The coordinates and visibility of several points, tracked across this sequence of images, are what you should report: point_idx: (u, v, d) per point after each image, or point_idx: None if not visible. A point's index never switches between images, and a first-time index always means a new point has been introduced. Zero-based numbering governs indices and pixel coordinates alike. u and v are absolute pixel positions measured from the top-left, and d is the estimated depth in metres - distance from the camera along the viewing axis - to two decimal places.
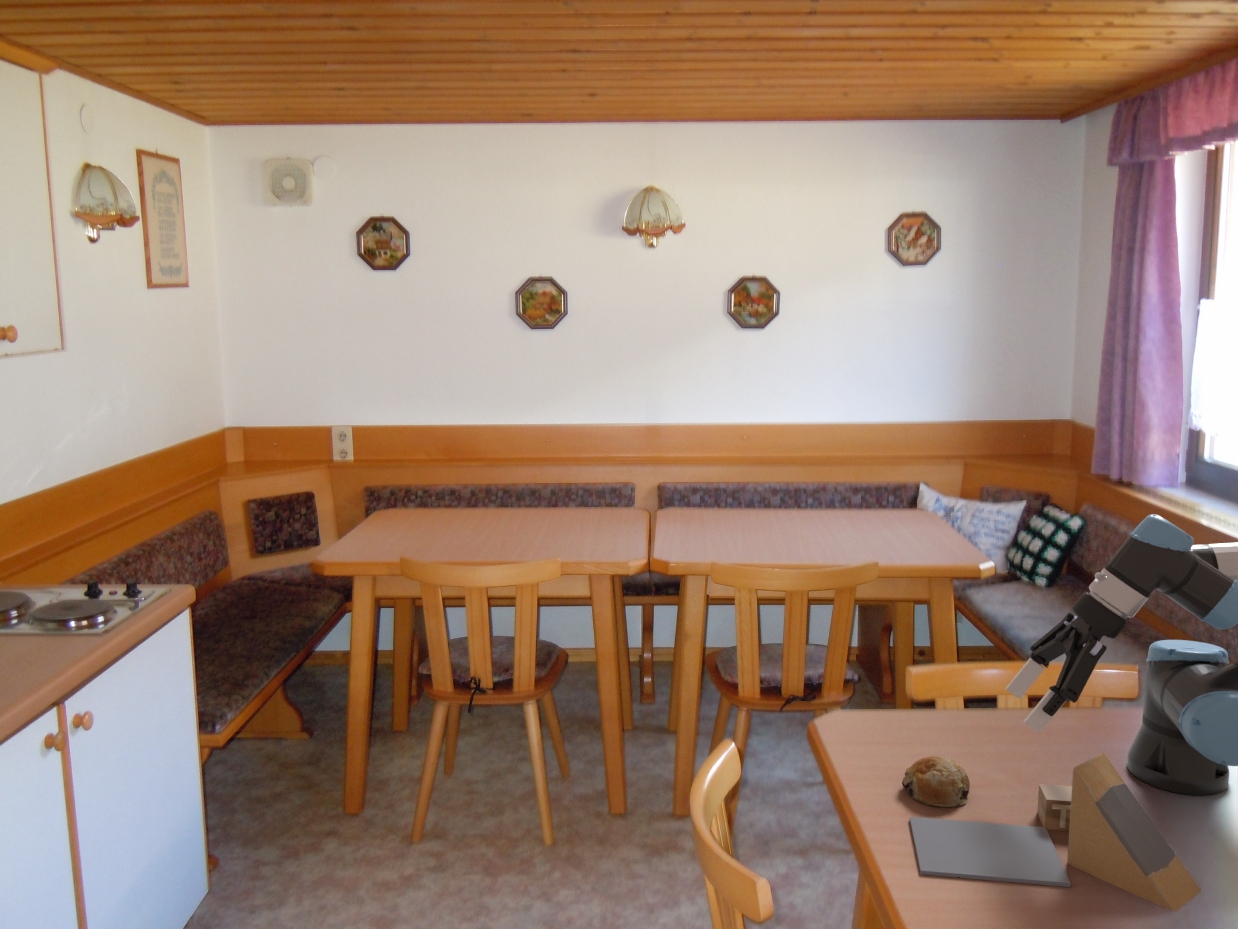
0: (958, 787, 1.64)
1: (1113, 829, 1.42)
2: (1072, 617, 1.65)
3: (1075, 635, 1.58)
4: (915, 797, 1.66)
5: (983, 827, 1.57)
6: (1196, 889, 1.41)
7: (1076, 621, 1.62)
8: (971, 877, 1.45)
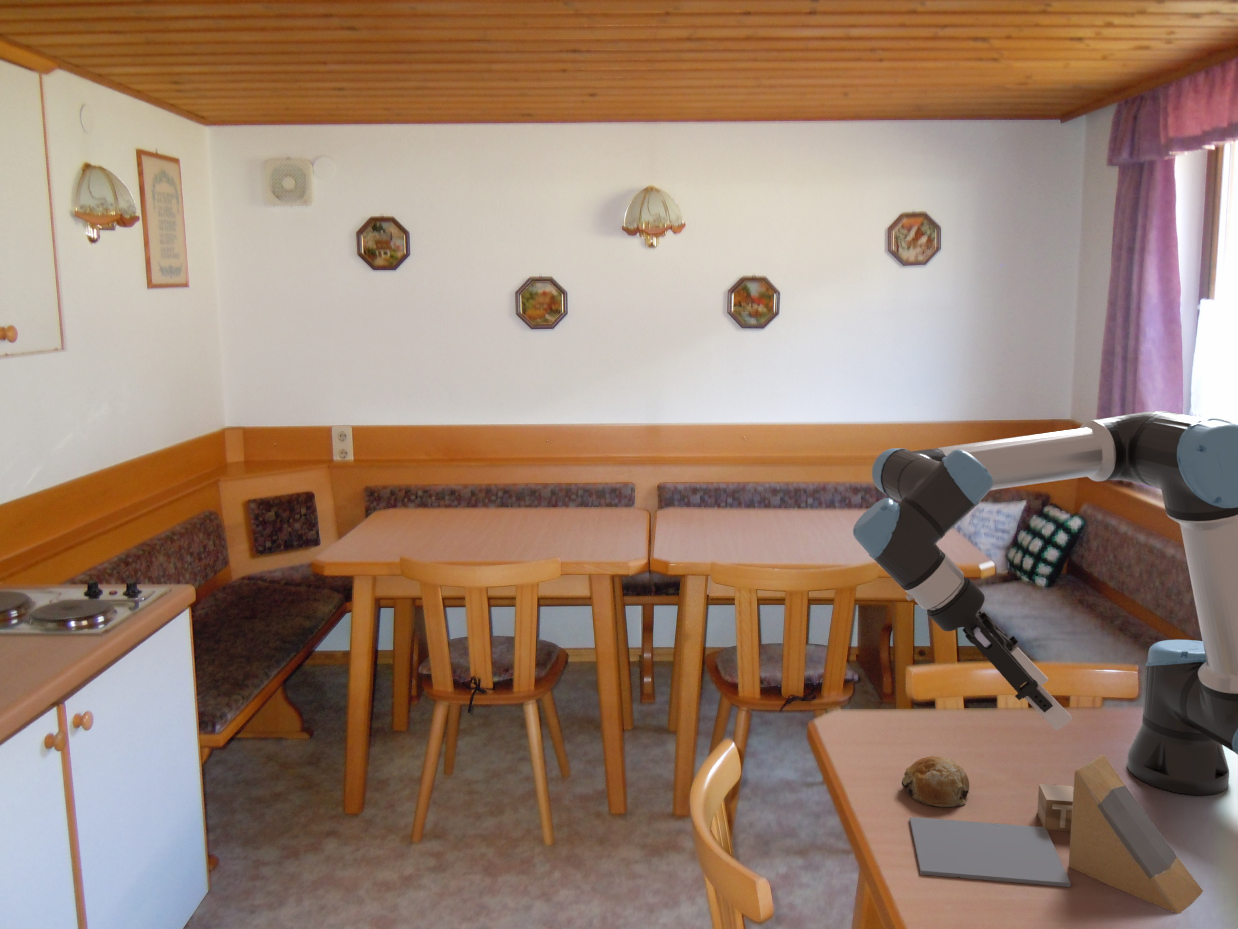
0: (958, 787, 1.64)
1: (1116, 832, 1.42)
2: None
3: (970, 639, 1.41)
4: (915, 797, 1.66)
5: (983, 827, 1.57)
6: (1198, 890, 1.41)
7: None
8: (971, 877, 1.45)
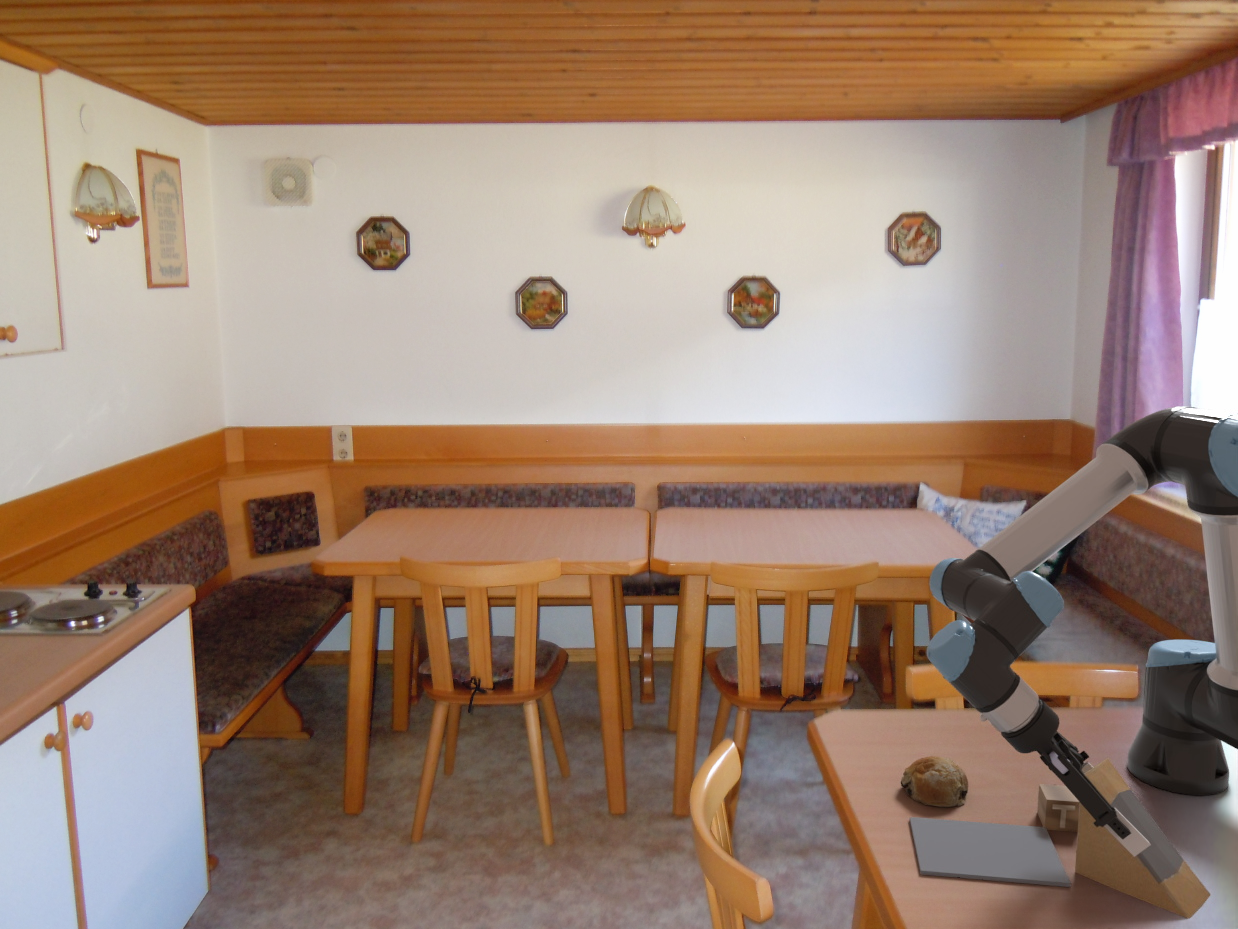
0: (957, 787, 1.64)
1: None
2: None
3: (1045, 762, 1.42)
4: (914, 797, 1.66)
5: (983, 827, 1.57)
6: (1206, 894, 1.40)
7: None
8: (971, 877, 1.45)
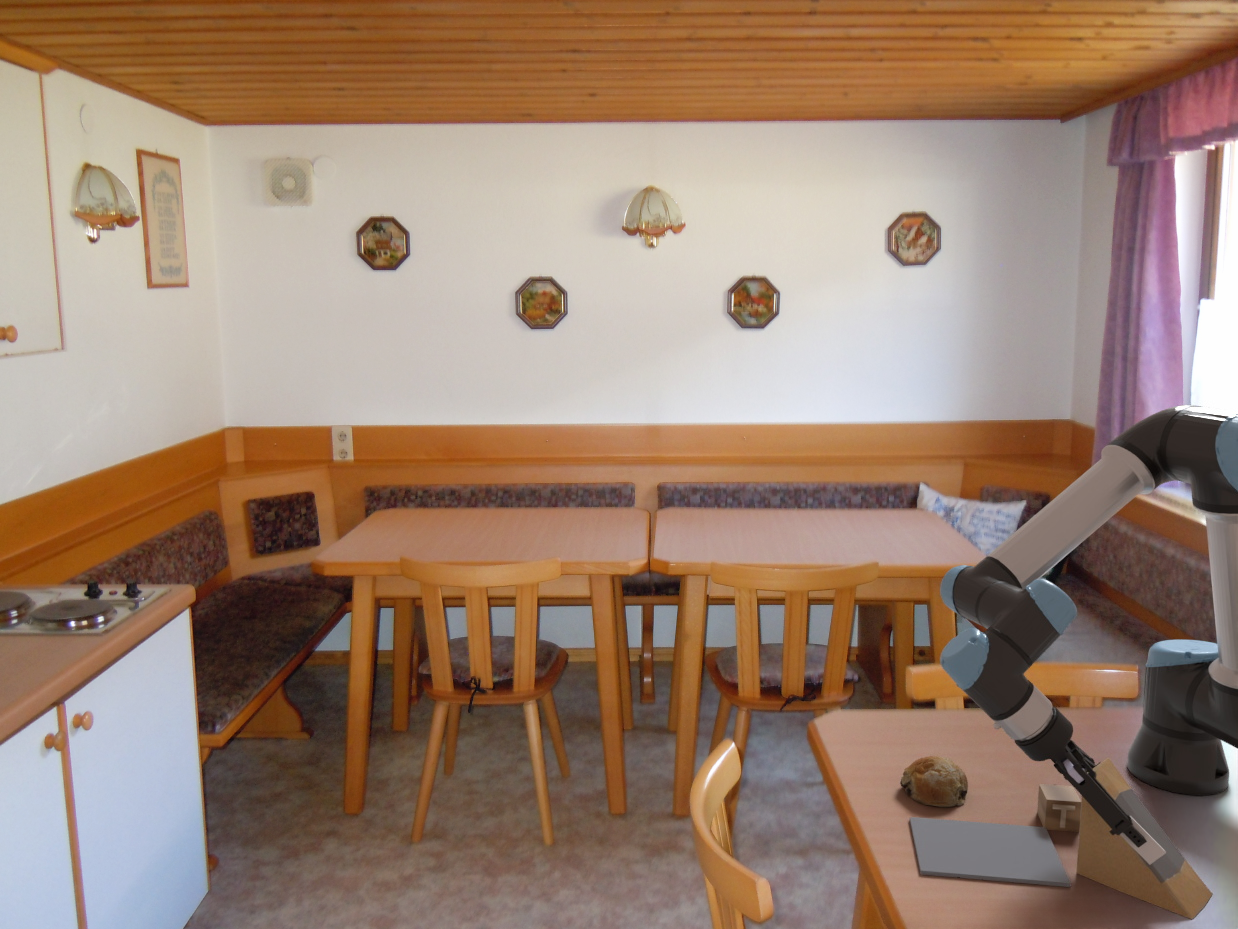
0: (956, 787, 1.64)
1: None
2: None
3: (1059, 770, 1.42)
4: (913, 797, 1.66)
5: (983, 827, 1.57)
6: (1207, 893, 1.40)
7: None
8: (971, 877, 1.45)
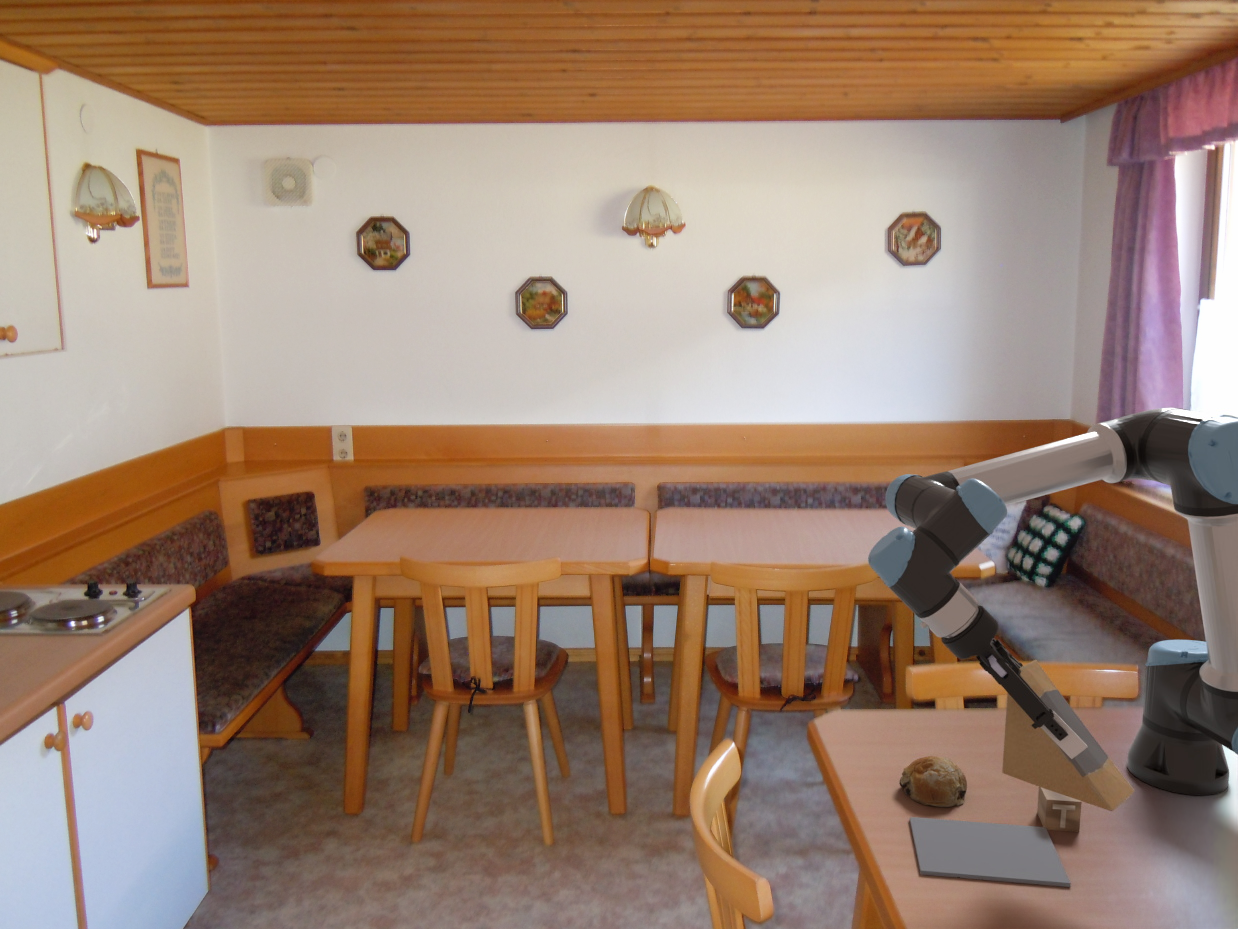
0: (955, 787, 1.64)
1: None
2: None
3: (985, 667, 1.43)
4: (912, 797, 1.66)
5: (983, 827, 1.57)
6: (1129, 789, 1.40)
7: None
8: (971, 877, 1.45)
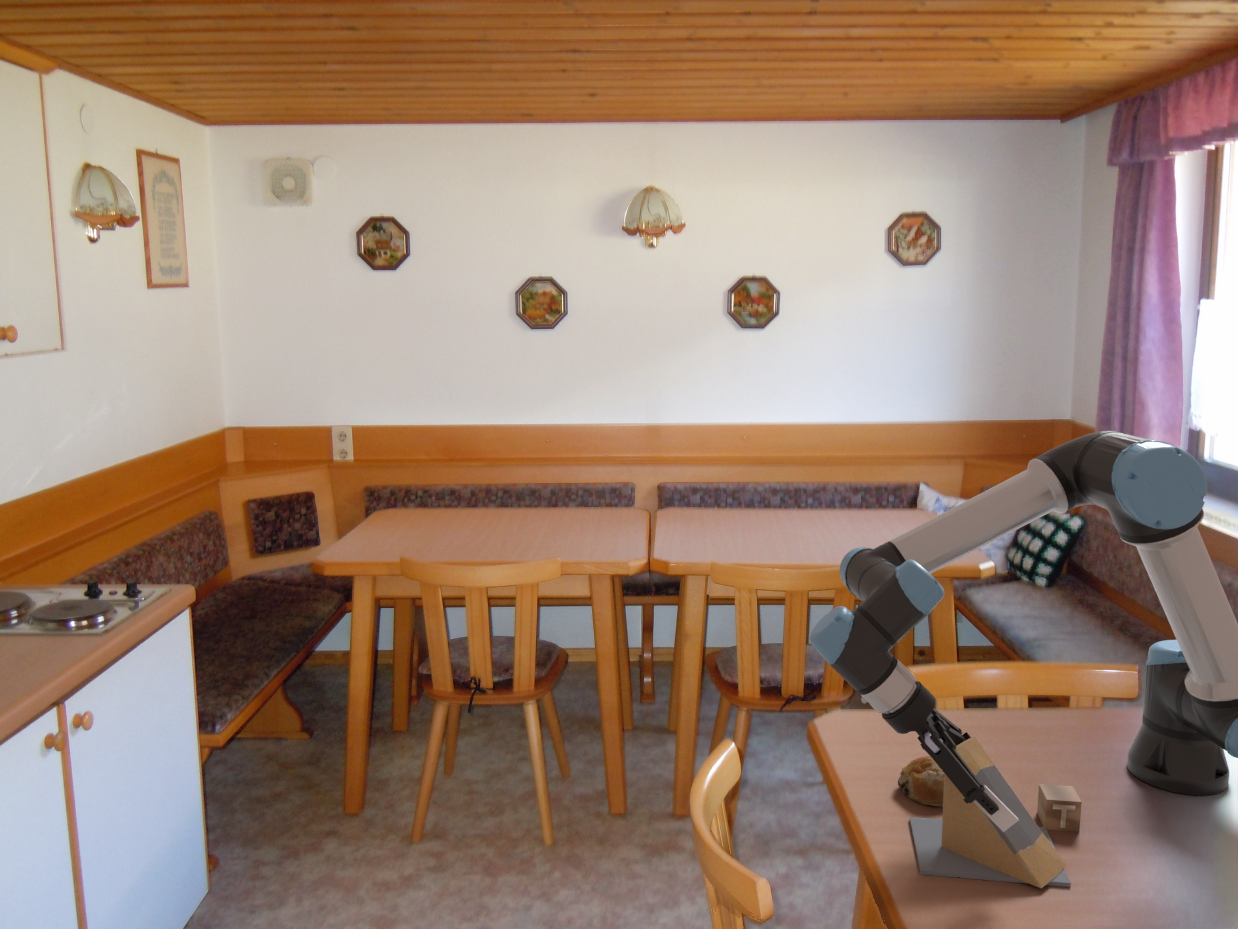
0: None
1: None
2: None
3: (922, 742, 1.48)
4: (911, 797, 1.67)
5: None
6: (1061, 864, 1.46)
7: None
8: (971, 877, 1.45)
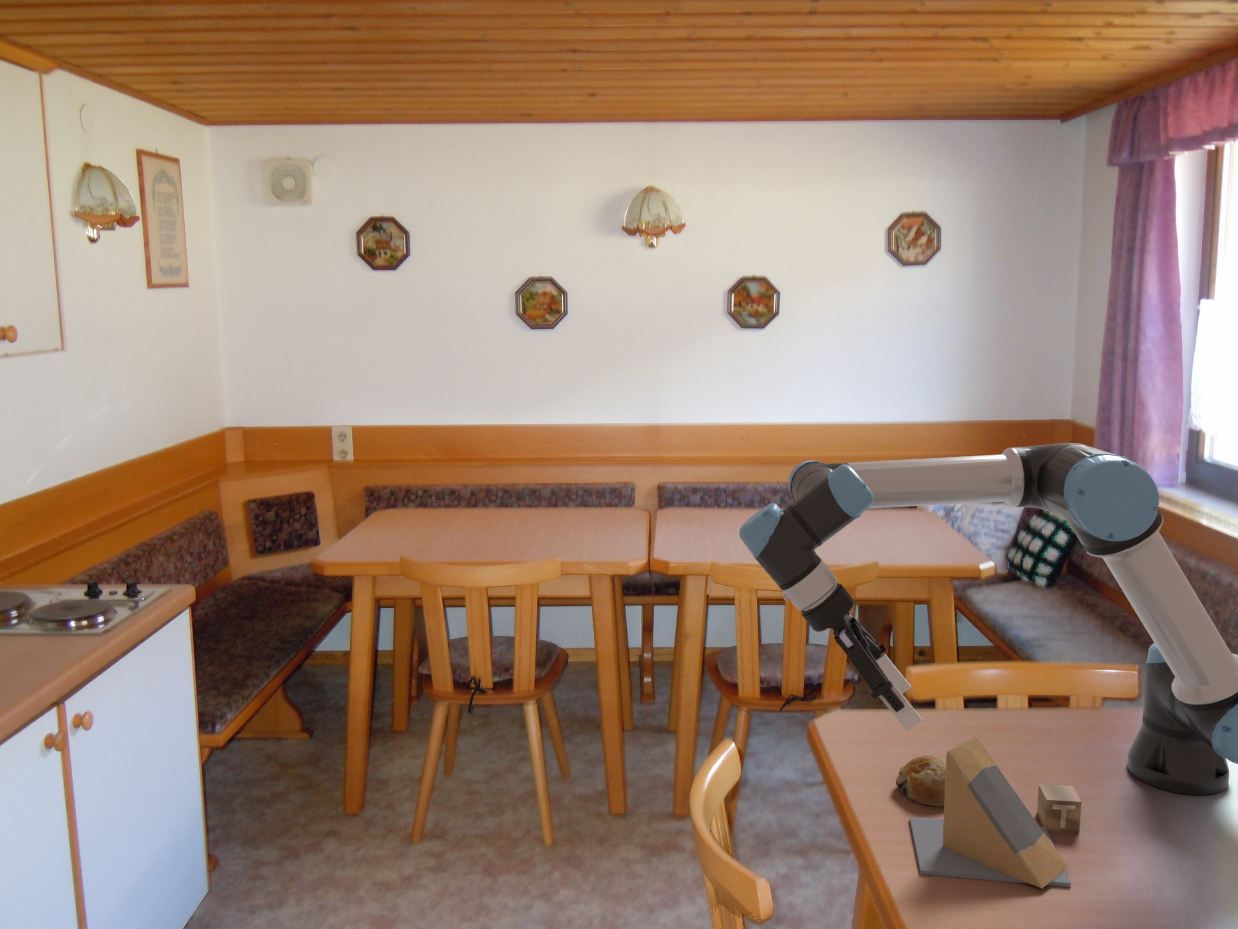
0: None
1: (984, 810, 1.46)
2: None
3: None
4: (909, 796, 1.67)
5: None
6: (1062, 864, 1.46)
7: None
8: (971, 877, 1.45)
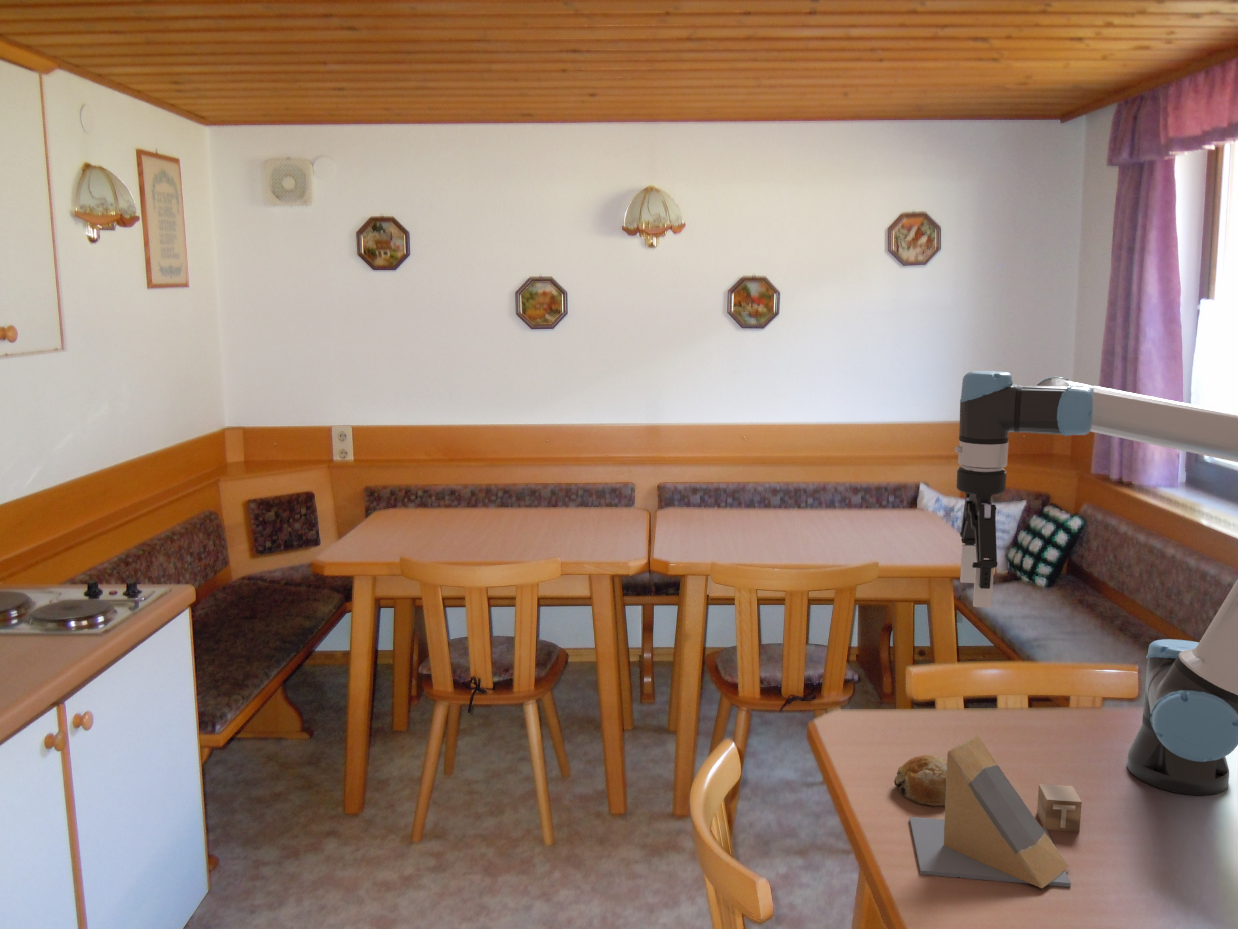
0: None
1: (985, 809, 1.46)
2: None
3: (971, 508, 1.66)
4: (907, 796, 1.67)
5: None
6: (1063, 864, 1.46)
7: (970, 494, 1.70)
8: (971, 877, 1.45)
